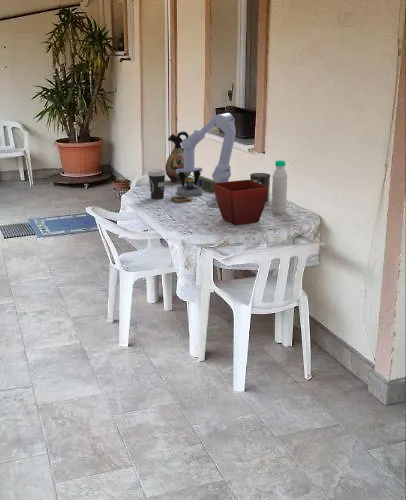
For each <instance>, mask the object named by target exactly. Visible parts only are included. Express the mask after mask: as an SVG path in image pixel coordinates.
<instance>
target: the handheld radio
mask: <svg viewBox="0 0 406 500" xmlns="http://www.w3.org/2000/svg"><path fill="white" fill-rule="evenodd" d="M214 183H215V181H214V180H213V178H210V177H206V176H203V175H201V174H200V176H199V178H198V181H197V185H196V186H197V187H199V188H201V189H202V190H206V191H208V192H211V193H213V194H215V191H214Z"/></svg>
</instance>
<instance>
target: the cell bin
mask: <svg viewBox="0 0 406 500" xmlns="http://www.w3.org/2000/svg"><path fill="white" fill-rule="evenodd" d="M176 192H177V193H178V194H179V195H181V196H187V197H193V196H194V197H195V196H203V189H202V188H200V187H197V185H193V190H186V185H185V186H182V185H180V186H176Z"/></svg>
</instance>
